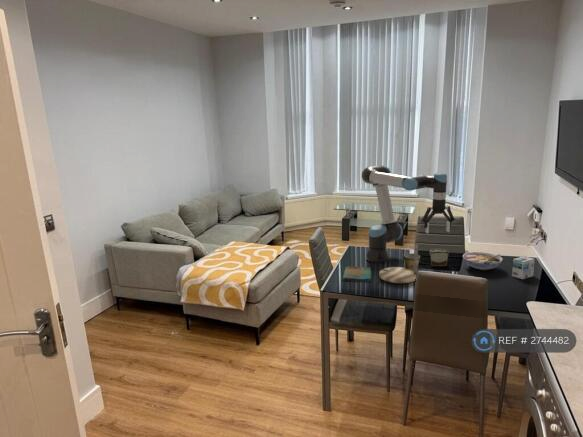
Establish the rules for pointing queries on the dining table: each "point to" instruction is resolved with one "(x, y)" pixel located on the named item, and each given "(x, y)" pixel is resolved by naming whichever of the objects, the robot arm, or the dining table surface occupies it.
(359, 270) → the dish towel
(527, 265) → the light bulb box
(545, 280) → the dining table surface
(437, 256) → the food container
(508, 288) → the dining table surface
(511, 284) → the dining table surface
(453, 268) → the dining table surface
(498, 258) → the ramen bowl
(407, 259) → the ceramic cup
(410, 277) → the turntable
